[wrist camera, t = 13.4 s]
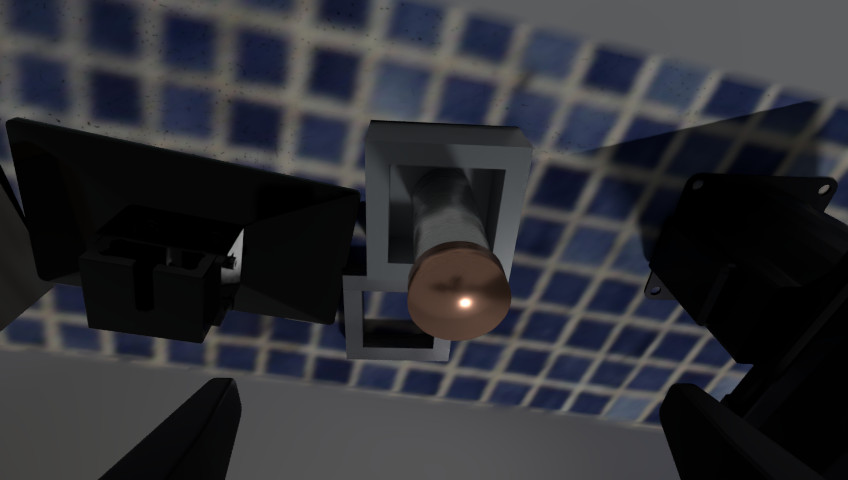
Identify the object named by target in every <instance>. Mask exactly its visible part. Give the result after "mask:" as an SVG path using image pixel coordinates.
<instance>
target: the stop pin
mask: <svg viewBox="0 0 848 480" xmlns="http://www.w3.org/2000/svg"><path fill="white" fill-rule="evenodd" d="M413 237H414V264H413V265H412V267H411V269H410V272H409V276H408V310H409V313H410V316H411V318H412V319H413V321H414V323H415V324H416V325H417V326H418V327H419V328H420V329H421V330H423V331H424V332H426V333H427V334H429V335H431V336H434V337H436V338H440V339H444V340H452V341H460V340H468V339H472V338H476V337H479V336H481V335H484V334H486V333H488V332H489V331H491V330H492V329H494V328H495V327H496V326H497V325H498V324H499V323H500V322H501V321H502V320H503V319H504V317H505V316H506V314H507V312H508V310H509V308H510V304H511V291H510V287H509V284H508V281H507V278H506V275H505V272H504V269H503V266H502V264H501V262H500V260H499V259H498V258H497V256H496V255H495V254H494V253H493V252H491V251H490V248H489V245H488V241H487V238H486V235H485V232H484V228H483V225H482V222H481V219H480V215H479V212H478V209H477V206H476V203H475V199H474V196H473V193H472V190H471V186H470V184H469V182H468V181H467V179H466V178H465V177H464V176H463V175H462V174H460V173H459V172H457V171H454V170H451V169H436V170H432V171H430V172H428V173H426V174H425V175H423V176H422V177H421V178H420V179H419V180H418V182H417V183H416V185H415V187H414V190H413Z"/></svg>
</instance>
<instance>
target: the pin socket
mask: <svg viewBox="0 0 848 480" xmlns="http://www.w3.org/2000/svg"><path fill="white" fill-rule="evenodd" d="M364 291H385V292H408V281H396V280H367V263H347V265H346V269H345V272H343V294H344V314H345V334H346V353H347V359H370V360H418V361H448V359H449V350H450V341H451V340H444V339H440V338H436V337H434V336H431V335H427V334H385V333H365V317H364Z"/></svg>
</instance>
